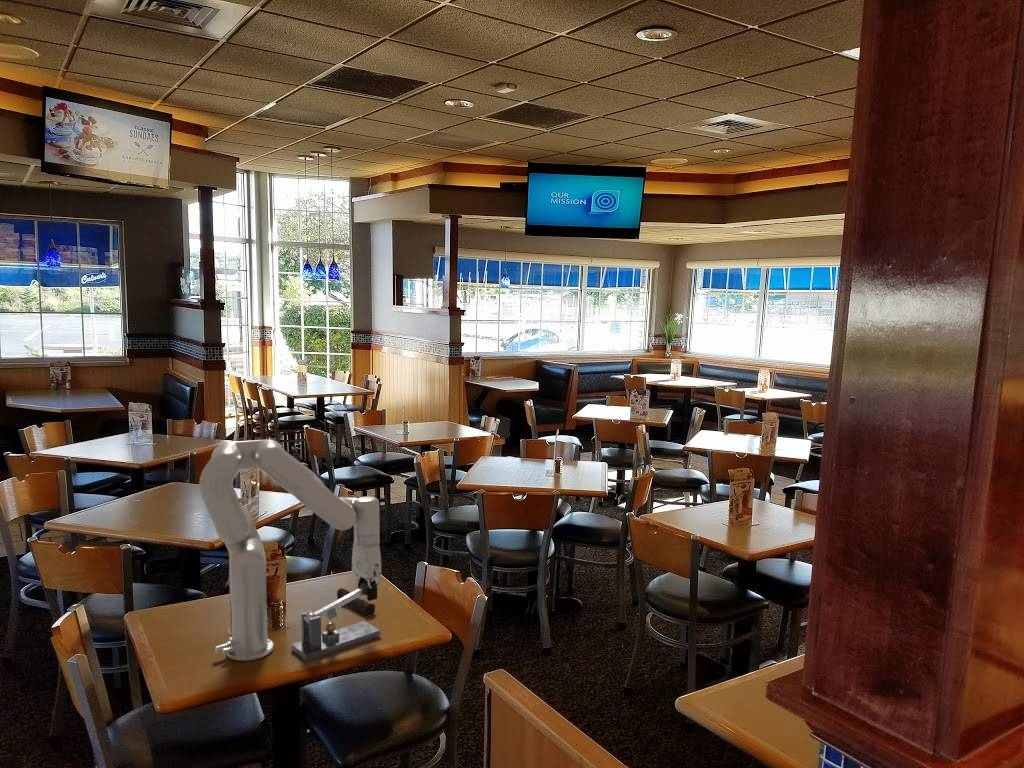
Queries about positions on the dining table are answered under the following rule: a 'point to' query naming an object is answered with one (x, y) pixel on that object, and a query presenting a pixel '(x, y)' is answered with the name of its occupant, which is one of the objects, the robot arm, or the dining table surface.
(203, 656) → the dining table surface
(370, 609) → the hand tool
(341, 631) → the nutcracker bench
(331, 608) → the lever
